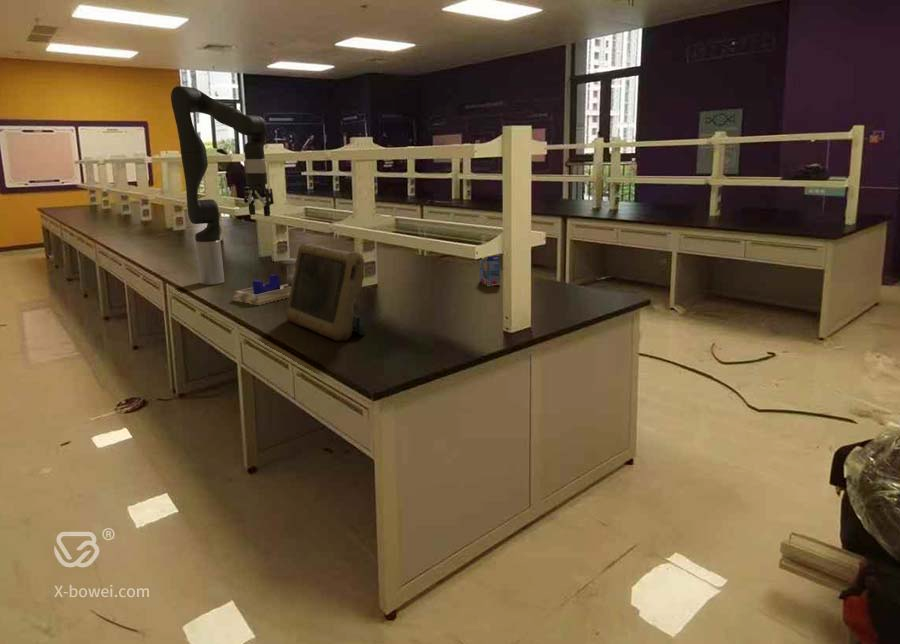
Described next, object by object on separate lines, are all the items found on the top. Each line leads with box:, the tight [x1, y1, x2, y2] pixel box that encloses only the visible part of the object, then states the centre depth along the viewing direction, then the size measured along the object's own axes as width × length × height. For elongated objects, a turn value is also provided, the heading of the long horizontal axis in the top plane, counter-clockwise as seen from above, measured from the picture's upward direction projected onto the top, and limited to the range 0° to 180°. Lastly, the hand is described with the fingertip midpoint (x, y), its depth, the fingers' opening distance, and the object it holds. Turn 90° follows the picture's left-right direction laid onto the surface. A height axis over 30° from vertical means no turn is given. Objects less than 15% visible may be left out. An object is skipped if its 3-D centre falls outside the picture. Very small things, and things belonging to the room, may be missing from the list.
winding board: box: [232, 257, 297, 306], centre depth 238 cm, size 14×27×12 cm, turn 144°
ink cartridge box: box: [478, 254, 501, 285], centre depth 254 cm, size 10×6×14 cm, turn 18°
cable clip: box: [252, 274, 281, 295], centre depth 234 cm, size 12×4×6 cm, turn 160°
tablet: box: [285, 240, 366, 342], centre depth 194 cm, size 33×14×25 cm, turn 45°
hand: (259, 215), depth 245 cm, fingers open, 8 cm apart
